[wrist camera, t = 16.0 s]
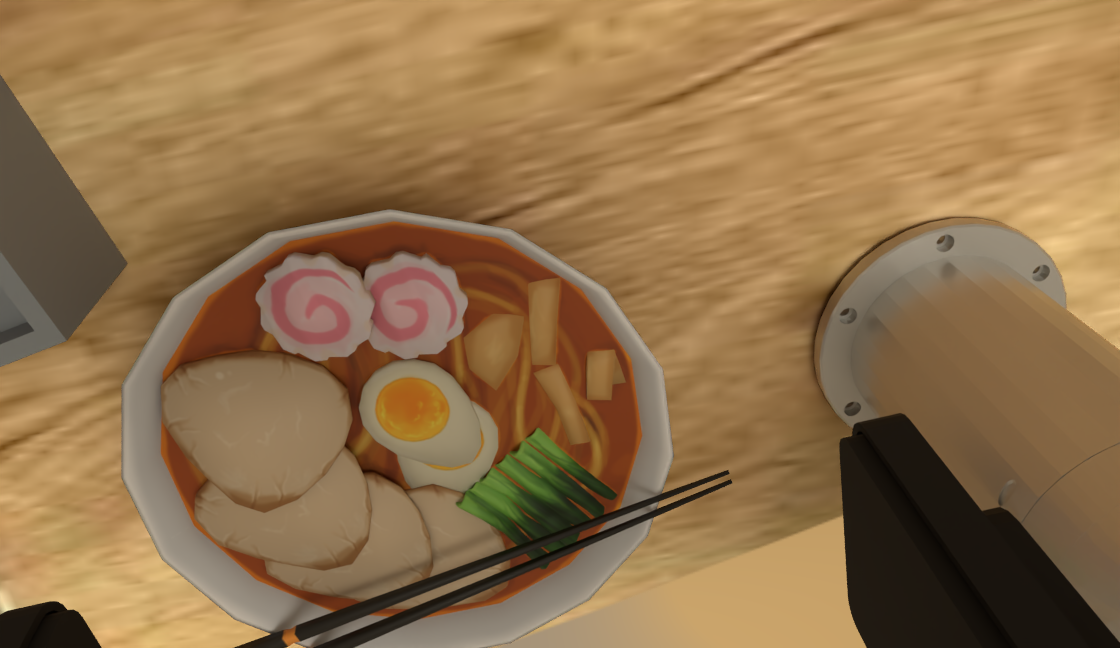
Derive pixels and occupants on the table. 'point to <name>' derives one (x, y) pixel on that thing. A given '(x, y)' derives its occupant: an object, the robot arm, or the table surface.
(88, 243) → the grey hollow box
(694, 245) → the table surface
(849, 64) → the table surface
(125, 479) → the ramen bowl
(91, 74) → the table surface
